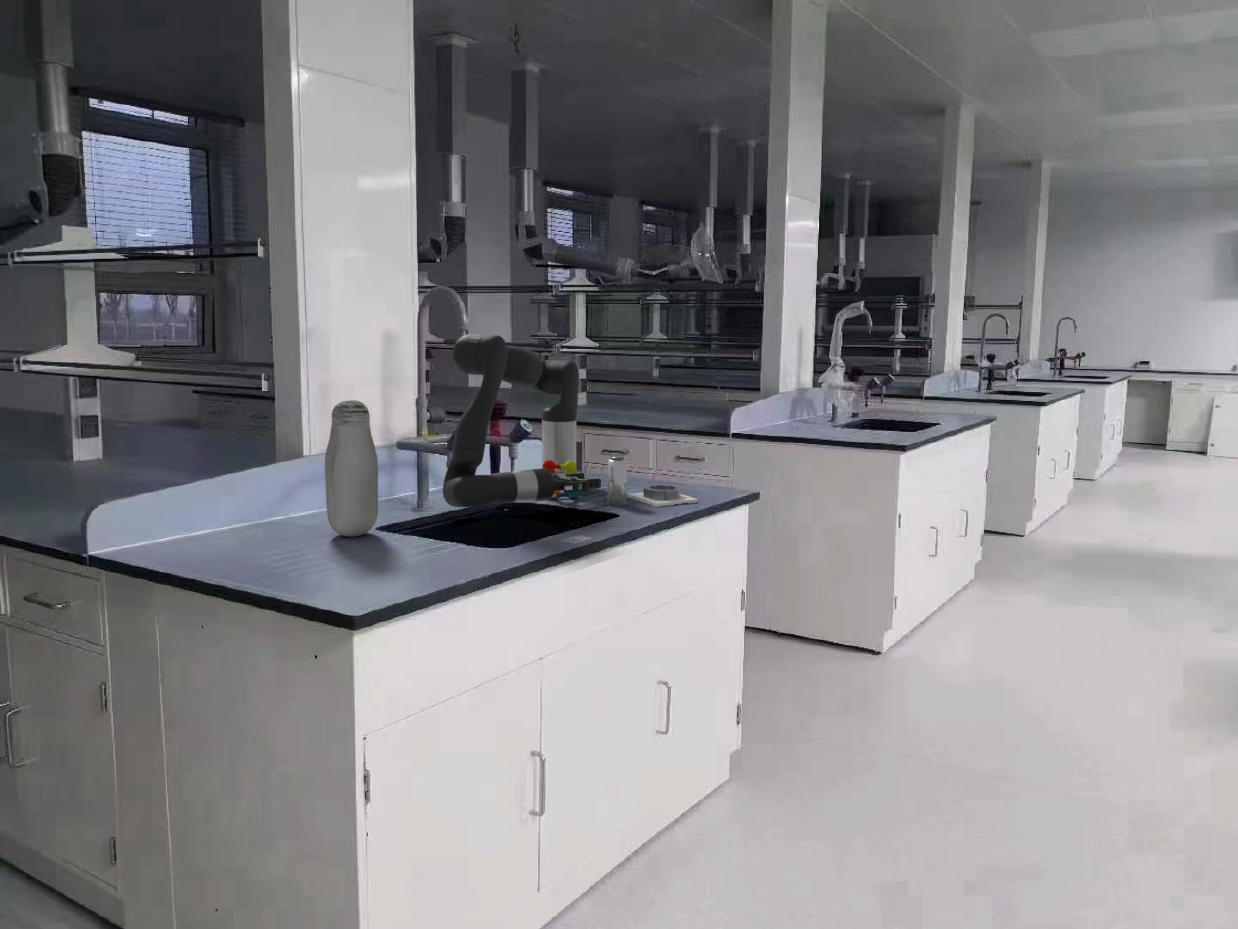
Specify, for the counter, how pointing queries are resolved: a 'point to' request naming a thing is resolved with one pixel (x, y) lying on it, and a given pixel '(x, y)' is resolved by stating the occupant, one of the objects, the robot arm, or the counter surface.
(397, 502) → the counter surface
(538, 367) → the robot arm
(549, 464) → the molecular model
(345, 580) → the counter surface
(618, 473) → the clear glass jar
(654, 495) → the collar
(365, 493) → the grey bottle
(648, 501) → the plate
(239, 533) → the counter surface
